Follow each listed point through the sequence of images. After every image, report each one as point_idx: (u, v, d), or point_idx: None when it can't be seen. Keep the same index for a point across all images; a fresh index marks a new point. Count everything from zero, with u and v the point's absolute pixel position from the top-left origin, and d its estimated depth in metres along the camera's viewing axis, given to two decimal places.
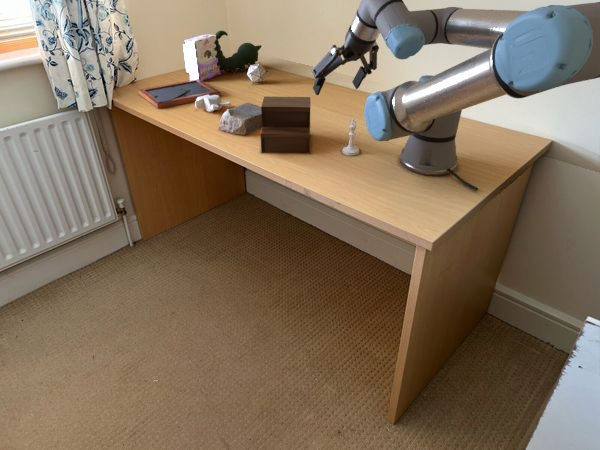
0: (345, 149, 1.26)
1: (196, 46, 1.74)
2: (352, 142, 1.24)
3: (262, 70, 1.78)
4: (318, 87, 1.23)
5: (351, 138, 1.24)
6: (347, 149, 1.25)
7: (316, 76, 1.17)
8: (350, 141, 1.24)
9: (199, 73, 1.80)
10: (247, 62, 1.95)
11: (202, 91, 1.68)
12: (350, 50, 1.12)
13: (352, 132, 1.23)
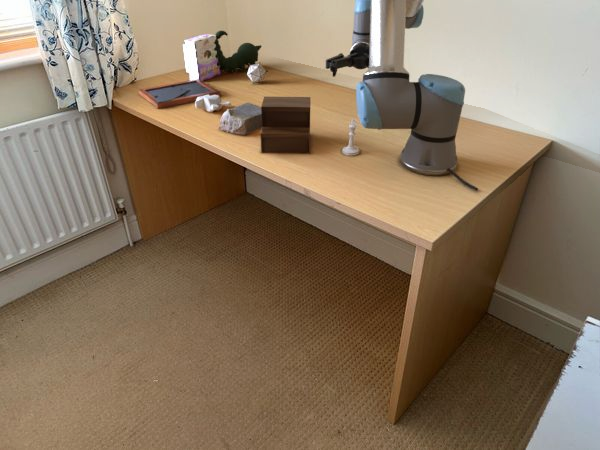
0: (345, 149, 1.26)
1: (195, 46, 1.74)
2: (352, 142, 1.24)
3: (262, 70, 1.78)
4: (333, 66, 1.26)
5: (351, 138, 1.24)
6: (347, 149, 1.25)
7: None
8: (350, 141, 1.24)
9: (199, 73, 1.80)
10: (247, 62, 1.95)
11: (202, 91, 1.68)
12: None
13: (352, 132, 1.23)
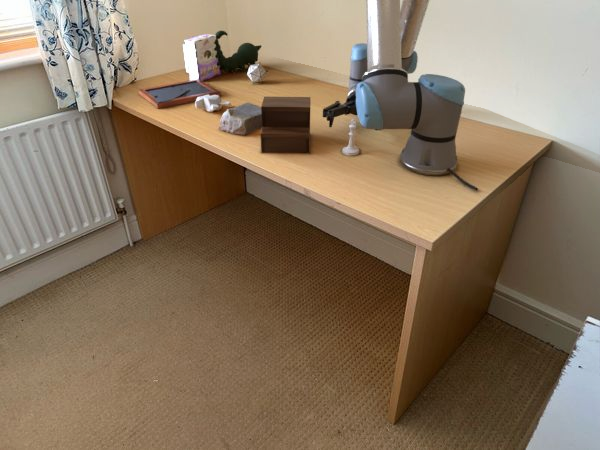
0: (345, 149, 1.26)
1: (195, 46, 1.74)
2: (352, 142, 1.24)
3: (262, 70, 1.78)
4: (330, 116, 1.31)
5: (351, 138, 1.24)
6: (347, 149, 1.25)
7: (324, 108, 1.35)
8: (350, 141, 1.24)
9: (199, 73, 1.80)
10: (247, 62, 1.95)
11: (202, 91, 1.68)
12: (349, 102, 1.41)
13: (352, 132, 1.23)
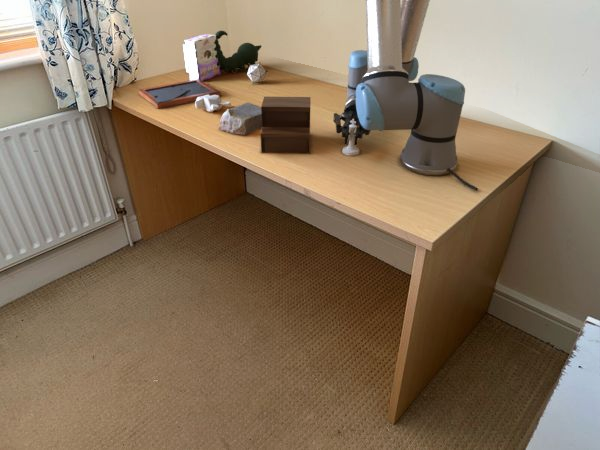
0: (345, 149, 1.26)
1: (195, 46, 1.74)
2: (352, 142, 1.24)
3: (262, 70, 1.78)
4: (345, 133, 1.21)
5: (351, 138, 1.24)
6: (347, 149, 1.25)
7: (337, 124, 1.25)
8: (350, 141, 1.24)
9: (199, 73, 1.80)
10: (247, 62, 1.95)
11: (202, 91, 1.68)
12: (345, 112, 1.34)
13: (352, 132, 1.23)
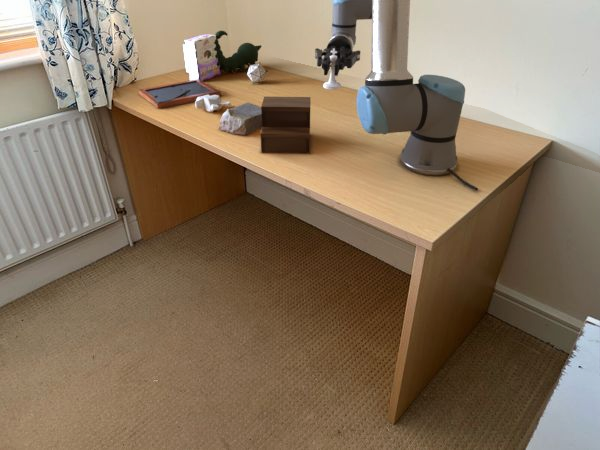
0: (326, 83, 1.18)
1: (195, 46, 1.74)
2: (333, 75, 1.16)
3: (262, 70, 1.78)
4: None
5: (332, 71, 1.16)
6: (328, 83, 1.17)
7: (318, 56, 1.17)
8: (331, 74, 1.16)
9: (199, 73, 1.80)
10: (247, 62, 1.95)
11: (202, 91, 1.68)
12: (328, 47, 1.26)
13: (333, 64, 1.15)
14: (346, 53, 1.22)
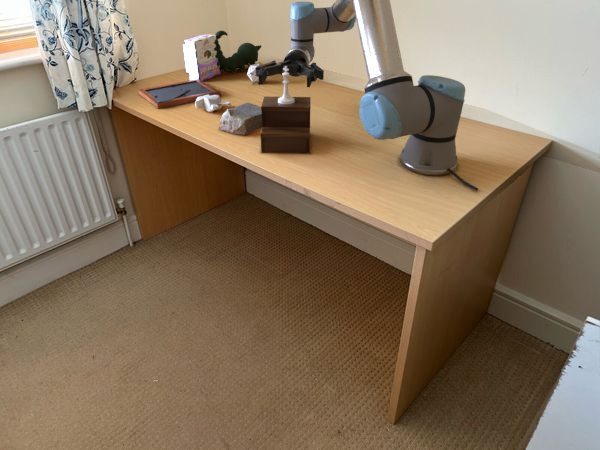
0: (280, 98, 1.26)
1: (195, 46, 1.74)
2: (286, 91, 1.24)
3: None
4: None
5: (285, 86, 1.24)
6: (282, 98, 1.25)
7: (256, 67, 1.27)
8: (284, 90, 1.24)
9: (199, 73, 1.80)
10: (247, 62, 1.95)
11: (202, 91, 1.68)
12: None
13: (285, 80, 1.23)
14: (300, 66, 1.30)
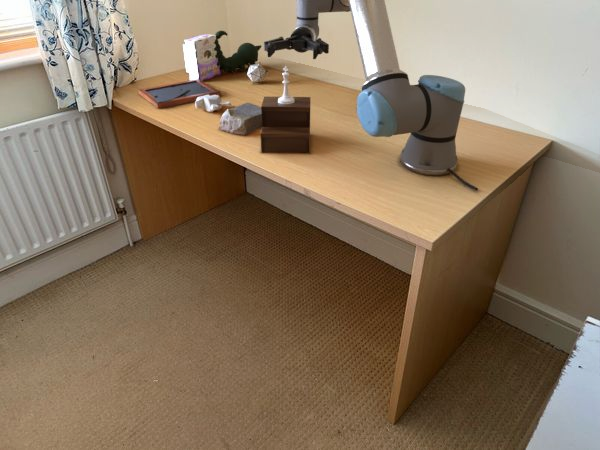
0: (280, 98, 1.26)
1: (195, 46, 1.74)
2: (286, 91, 1.24)
3: (262, 70, 1.78)
4: None
5: (285, 86, 1.24)
6: (282, 98, 1.25)
7: (265, 41, 1.34)
8: (284, 90, 1.24)
9: (199, 73, 1.80)
10: (247, 62, 1.95)
11: (202, 91, 1.68)
12: None
13: (285, 80, 1.23)
14: None
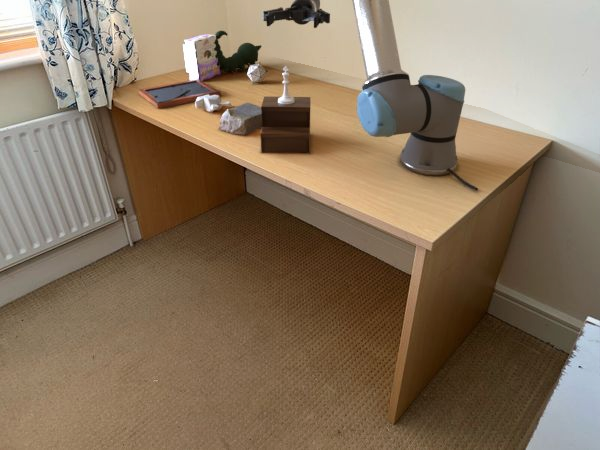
0: (280, 98, 1.26)
1: (195, 46, 1.74)
2: (286, 91, 1.24)
3: (262, 70, 1.78)
4: None
5: (285, 86, 1.24)
6: (282, 98, 1.25)
7: None
8: (284, 90, 1.24)
9: (199, 73, 1.80)
10: (247, 62, 1.95)
11: (202, 91, 1.68)
12: None
13: (285, 80, 1.23)
14: None
